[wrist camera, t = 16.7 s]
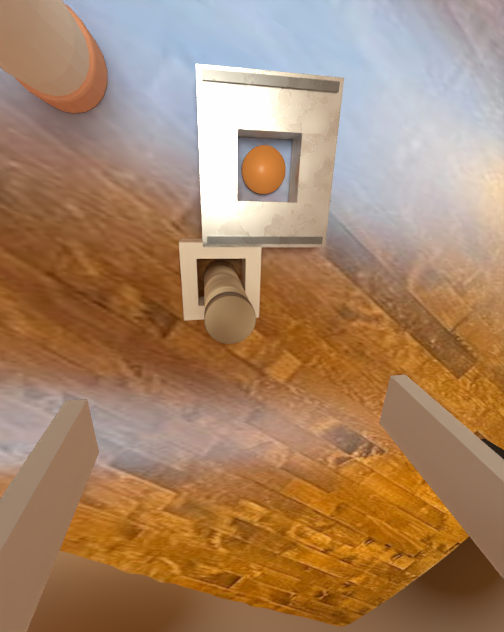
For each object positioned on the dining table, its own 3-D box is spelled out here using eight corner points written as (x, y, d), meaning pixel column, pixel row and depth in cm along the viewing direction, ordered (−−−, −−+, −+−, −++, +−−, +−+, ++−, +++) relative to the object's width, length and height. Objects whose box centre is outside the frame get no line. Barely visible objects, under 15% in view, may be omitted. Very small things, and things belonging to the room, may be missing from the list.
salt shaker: (43, -7, 25) (-329, -490, 8) (122, 61, 28) (-20, -183, 10) (7, 73, 27) (-372, -175, 9) (85, 131, 29) (-93, 25, 12)
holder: (185, 310, 38) (184, 320, 34) (181, 238, 34) (178, 242, 31) (254, 307, 39) (259, 317, 36) (256, 238, 36) (261, 242, 32)
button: (241, 193, 33) (242, 193, 33) (241, 145, 32) (242, 144, 31) (281, 194, 34) (283, 194, 33) (284, 147, 32) (286, 146, 31)
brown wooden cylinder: (204, 291, 37) (205, 345, 23) (202, 259, 36) (203, 296, 22) (236, 290, 38) (255, 342, 24) (236, 259, 36) (257, 295, 22)
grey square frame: (202, 242, 35) (202, 247, 31) (196, 78, 29) (195, 62, 25) (314, 243, 37) (325, 247, 33) (329, 90, 31) (345, 76, 28)
